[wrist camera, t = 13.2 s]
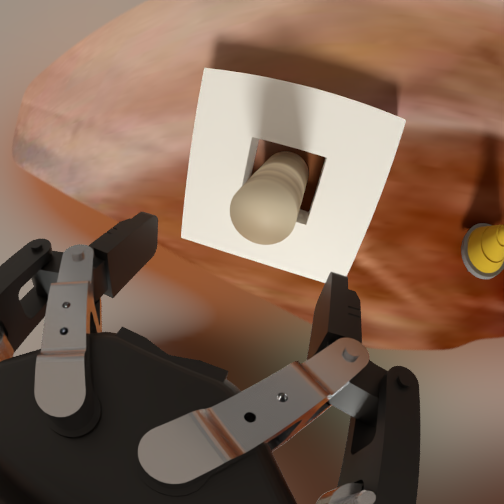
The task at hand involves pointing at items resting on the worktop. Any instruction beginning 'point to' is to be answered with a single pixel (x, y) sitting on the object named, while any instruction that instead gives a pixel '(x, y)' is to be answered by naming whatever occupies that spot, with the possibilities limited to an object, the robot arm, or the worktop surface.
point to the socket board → (297, 136)
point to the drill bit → (484, 250)
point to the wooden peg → (270, 199)
